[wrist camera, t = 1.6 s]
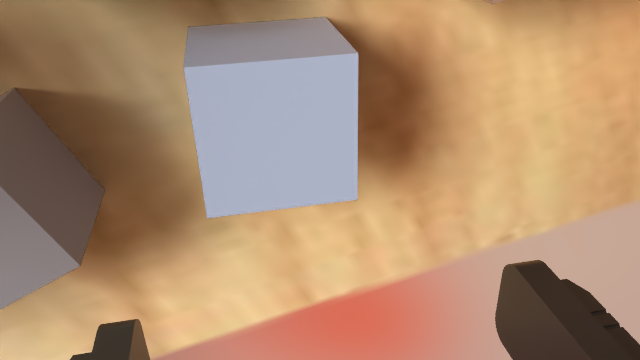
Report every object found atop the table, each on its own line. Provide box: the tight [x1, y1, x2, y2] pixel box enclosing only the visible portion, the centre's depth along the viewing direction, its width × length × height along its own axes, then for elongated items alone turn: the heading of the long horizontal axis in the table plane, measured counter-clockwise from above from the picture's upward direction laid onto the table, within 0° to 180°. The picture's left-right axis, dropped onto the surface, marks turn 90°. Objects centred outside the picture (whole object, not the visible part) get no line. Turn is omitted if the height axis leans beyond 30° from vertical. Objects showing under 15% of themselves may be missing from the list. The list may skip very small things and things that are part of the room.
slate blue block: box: [184, 17, 358, 218], centre depth 22 cm, size 6×6×6 cm
